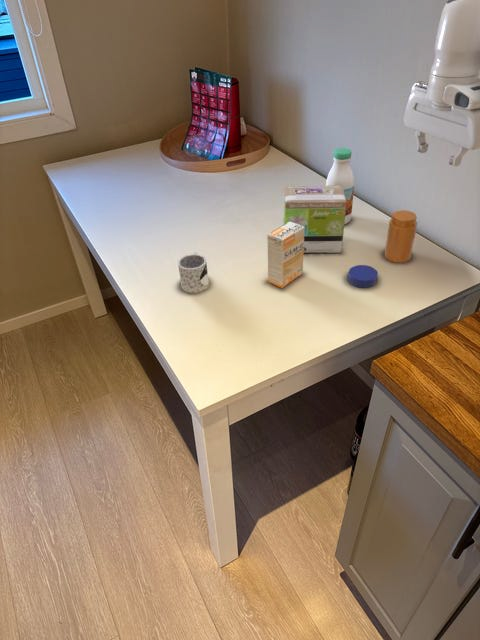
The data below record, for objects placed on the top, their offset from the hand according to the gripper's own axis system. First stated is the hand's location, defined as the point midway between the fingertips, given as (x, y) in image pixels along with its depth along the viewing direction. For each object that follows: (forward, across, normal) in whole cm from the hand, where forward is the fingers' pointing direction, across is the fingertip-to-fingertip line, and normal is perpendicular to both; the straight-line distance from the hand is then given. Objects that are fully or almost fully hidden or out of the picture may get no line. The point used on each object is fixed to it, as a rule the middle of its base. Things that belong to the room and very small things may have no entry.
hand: (437, 158), depth 104 cm
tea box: (+26, -21, -17) cm, 38 cm away
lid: (+24, -1, -16) cm, 29 cm away
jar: (+26, -5, -2) cm, 27 cm away
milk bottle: (+26, -29, -3) cm, 39 cm away
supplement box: (+26, -11, -31) cm, 42 cm away
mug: (+26, -21, -51) cm, 61 cm away
